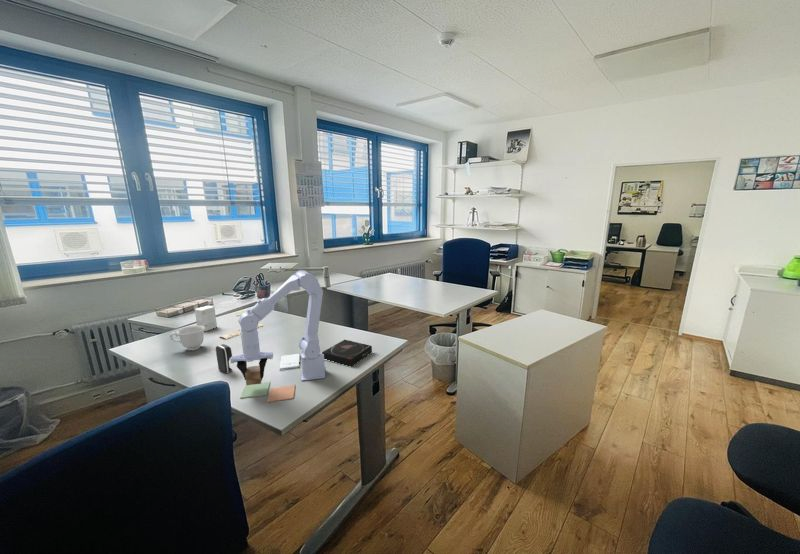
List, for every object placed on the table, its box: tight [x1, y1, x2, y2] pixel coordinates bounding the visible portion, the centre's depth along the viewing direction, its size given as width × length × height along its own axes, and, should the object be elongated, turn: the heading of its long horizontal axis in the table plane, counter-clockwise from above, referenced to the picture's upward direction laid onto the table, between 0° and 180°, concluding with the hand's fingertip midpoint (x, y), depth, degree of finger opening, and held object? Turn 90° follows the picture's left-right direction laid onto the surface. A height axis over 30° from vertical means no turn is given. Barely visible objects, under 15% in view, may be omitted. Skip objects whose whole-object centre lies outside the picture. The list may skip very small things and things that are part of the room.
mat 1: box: [240, 381, 271, 399], centre depth 123 cm, size 9×9×1 cm
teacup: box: [169, 325, 205, 351], centre depth 160 cm, size 12×15×10 cm
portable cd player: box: [321, 339, 373, 368], centre depth 152 cm, size 16×17×4 cm
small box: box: [194, 305, 218, 333], centre depth 187 cm, size 8×6×13 cm
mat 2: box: [266, 384, 296, 403], centre depth 121 cm, size 9×9×1 cm
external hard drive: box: [279, 353, 301, 371], centre depth 146 cm, size 2×8×12 cm
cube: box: [245, 365, 263, 385], centre depth 122 cm, size 5×5×5 cm
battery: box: [215, 343, 233, 374], centre depth 138 cm, size 7×4×11 cm, turn 55°
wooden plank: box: [220, 323, 264, 340], centre depth 184 cm, size 24×7×2 cm, turn 150°
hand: (254, 377), depth 122 cm, fingers closed on cube, 5 cm apart
